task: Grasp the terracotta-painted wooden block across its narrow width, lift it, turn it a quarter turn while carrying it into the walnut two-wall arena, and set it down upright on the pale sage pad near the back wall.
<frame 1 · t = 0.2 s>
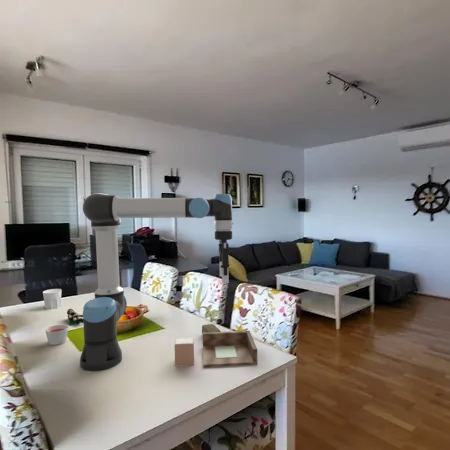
hand: (223, 279, 141), 28 cm above the table, fingers open, 13 cm apart
stone block: (211, 338, 147), on the table
candle: (57, 342, 145), on the table
sage pad: (225, 354, 130), resting on arena
terracotta block: (184, 362, 124), on the table
cup: (52, 307, 196), on the table
arena: (228, 355, 130), on the table
figurine: (74, 322, 170), on the table
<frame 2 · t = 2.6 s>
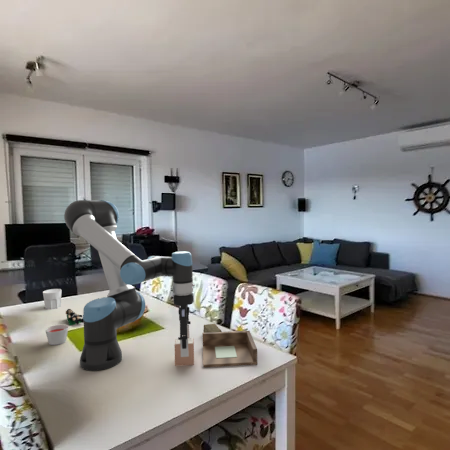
hand: (185, 348, 124), 5 cm above the table, fingers open, 13 cm apart
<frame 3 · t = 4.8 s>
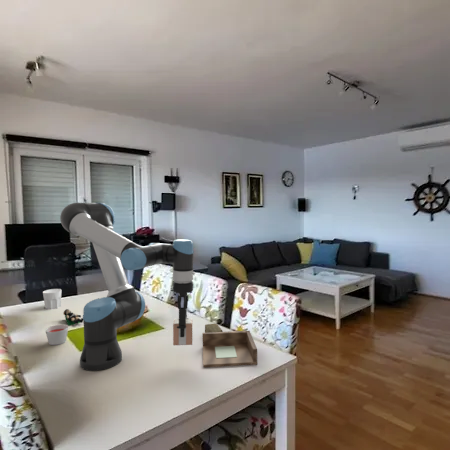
hand: (182, 341, 124), 8 cm above the table, fingers closed on terracotta block, 5 cm apart
terracotta block: (183, 342, 124), point 8 cm above the table, touching gripper
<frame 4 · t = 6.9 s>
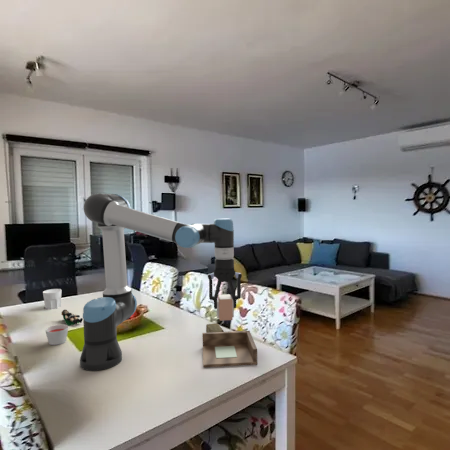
hand: (225, 316, 129), 16 cm above the table, fingers closed on terracotta block, 5 cm apart
terracotta block: (225, 317, 129), point 15 cm above the table, touching gripper
when the fingers open (2 cm above the table, at t = 9.5 s): terracotta block stays where it is, resting on sage pad.
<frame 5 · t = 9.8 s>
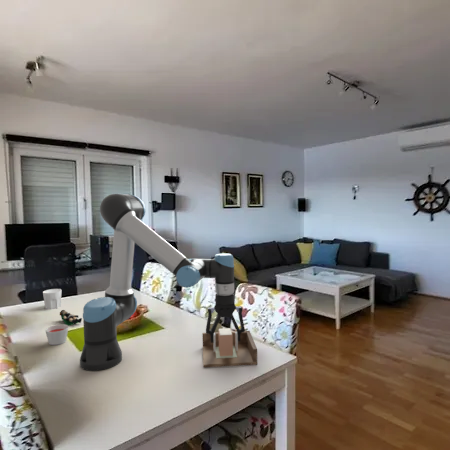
hand: (225, 349, 130), 2 cm above the table, fingers open, 8 cm apart
terracotta block: (225, 351, 130), point 1 cm above the table, touching sage pad
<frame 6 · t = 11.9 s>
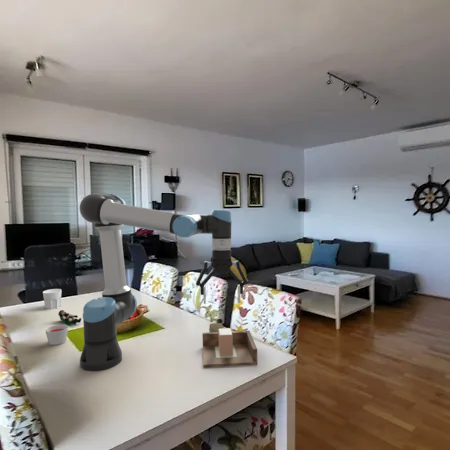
hand: (221, 302, 129), 21 cm above the table, fingers open, 13 cm apart
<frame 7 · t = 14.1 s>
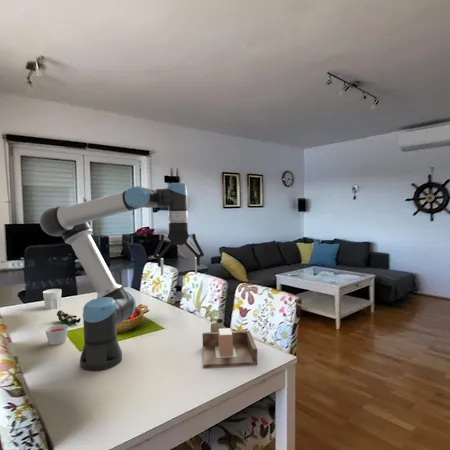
hand: (179, 274, 132), 32 cm above the table, fingers open, 13 cm apart
at the end: terracotta block inside the target area (0.2 cm from its centre), point 1.2 cm above the table; terracotta block tilted 0°; the gripper is holding nothing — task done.
